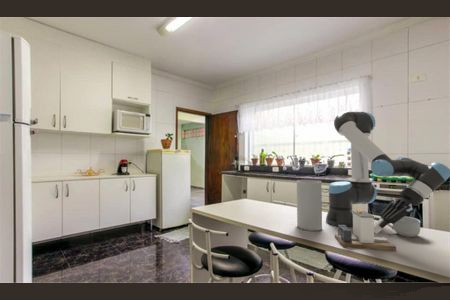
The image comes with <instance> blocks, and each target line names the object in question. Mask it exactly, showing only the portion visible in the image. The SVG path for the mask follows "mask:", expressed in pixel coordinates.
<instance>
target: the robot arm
mask: <svg viewBox="0 0 450 300" xmlns="http://www.w3.org/2000/svg"><path fill="white" fill-rule="evenodd" d="M333 122H334V123H333V126H334V129H335V131H336V132H337V133H338V134H339V135H340V136H343V137H344V138H346V140H347V141H348V143H350V155H351V158H350V163H351V166H350V167H351V178H350V179H349V180H348V181H345V180H344V181H334V182H331V183H330V184H329V186H328V211H327V214H326V216H325V222H326V223H327V224H328V225H332V226H335V227H338V225H345V226H347V227H348V228H353V212H352V211H353V210H352V209H353V205H366V204H371V203H374V201H375V200H377V199H376V198H377V197H378V196H377V195H378V190H377V188H376V186H375V185H374V184H373V181H372V180H371V179H370V178H369V177H370V176H369V164H370V169H371V172H372V173H371V174H373V175H374V176H377V177H381V178H382V177H383V178H387V177H409V178H411V179H413V180H412V181H410V183H409V184H407V186H406V187H404V188H403V189H402V190H401V191H400V192H399V195H400V197H398V198H397V199H396V200H393V199H391V200H390V201H389V202H388V204H387V206H386V207H385V208H384V209H383V210H382V212H381V213H380V214H379V217H380V218H379V219H378V220H377V221H376V222H374V234H376V235H378V233H380V232H381V231H382V230H383V229H385V227H386V226H388V225H387V224H390V225H393V224H394V223H396V222H397V221H399V220H400V219H401V218H403V217H404V216H407V215H409V214H411V213H413V212H415V209H414V208H413V207H414V206H415V207H416V206H419V205H420V204H421V203H422V202H424V200H425V199H427V198H429V196H430V195H432V193H433V192H435V191H436V189H438V188H439V187H440V186H441V185H442V184H444V183H445V182H447V180H448V179H449V178H450V168H449V167H448V166H447V165H445V164H443V163H441V162H432V163H430V164H425V163H421V162H419V161H416V160H414V159H412V158H409V157H405V156H399V157H398V158H396V159H392V158H391V157H390V156H389V155H387V154H386V153H385V152H384V151H383V150H382V149H380V147H378V146H377V144H376V143H374V142H373V141H372V140H371V139H370V138H369V136H370V135H371V134H372V131H373V130H374V129H375V127H376V119H375V117H374V116H373V114H372V113H370V112H365V111H349V110H346V111H341V112H340V113H338V114H337V115H336V117H335V118H334V120H333Z"/></svg>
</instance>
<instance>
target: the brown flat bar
mask: <svg viewBox="0 0 450 300" xmlns="http://www.w3.org/2000/svg"><path fill="white" fill-rule="evenodd" d="M381 237H382V236H381ZM381 237H374V242H387V243H389V242H390V241H389V239H388V238H386V237H383V238H381ZM339 238H340V239H341V240H342V237H341V236H340V235H339ZM352 240H353V241H359V237H357V236H352Z"/></svg>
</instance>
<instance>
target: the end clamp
mask: <svg viewBox="0 0 450 300" xmlns="http://www.w3.org/2000/svg"><path fill="white" fill-rule="evenodd" d="M337 234H338V236H339V235H340V236H341V237H342V240H343V241H344V242H352V235H353V234H352V230H351V228H350V227H347V226H345V225H338V226H337Z"/></svg>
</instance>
